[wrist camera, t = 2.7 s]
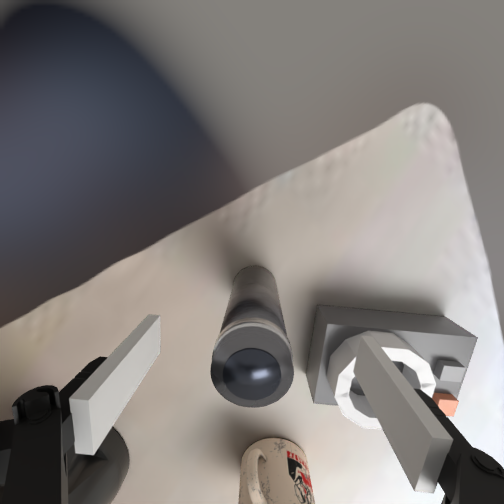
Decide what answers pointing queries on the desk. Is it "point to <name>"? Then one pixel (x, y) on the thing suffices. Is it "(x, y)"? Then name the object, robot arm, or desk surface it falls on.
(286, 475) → the teacup with lid
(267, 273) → the grey flashlight
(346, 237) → the desk surface
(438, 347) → the camera body
